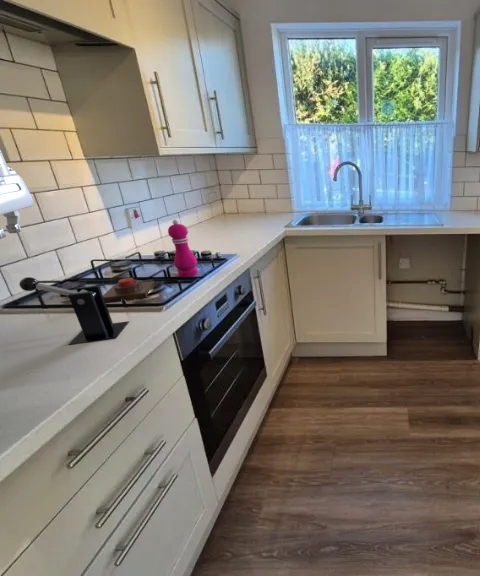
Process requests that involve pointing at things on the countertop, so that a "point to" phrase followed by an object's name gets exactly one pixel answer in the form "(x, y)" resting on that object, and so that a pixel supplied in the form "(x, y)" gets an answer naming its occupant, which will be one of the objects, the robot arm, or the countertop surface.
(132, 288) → the button block
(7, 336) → the countertop surface
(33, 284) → the lever
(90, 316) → the bracket
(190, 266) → the pepper mill
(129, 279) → the button
